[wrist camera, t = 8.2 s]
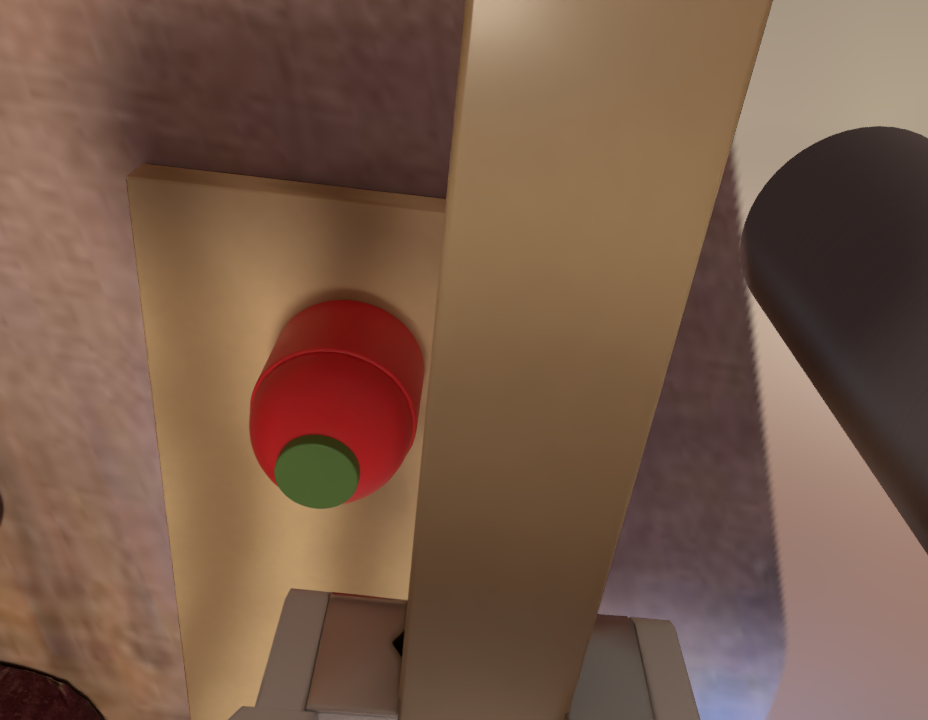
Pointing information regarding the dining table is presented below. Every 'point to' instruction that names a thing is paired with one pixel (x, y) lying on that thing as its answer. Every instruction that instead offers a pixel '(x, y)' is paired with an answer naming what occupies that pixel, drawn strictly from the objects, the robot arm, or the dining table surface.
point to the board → (230, 389)
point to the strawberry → (337, 403)
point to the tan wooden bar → (556, 325)
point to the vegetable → (39, 698)
